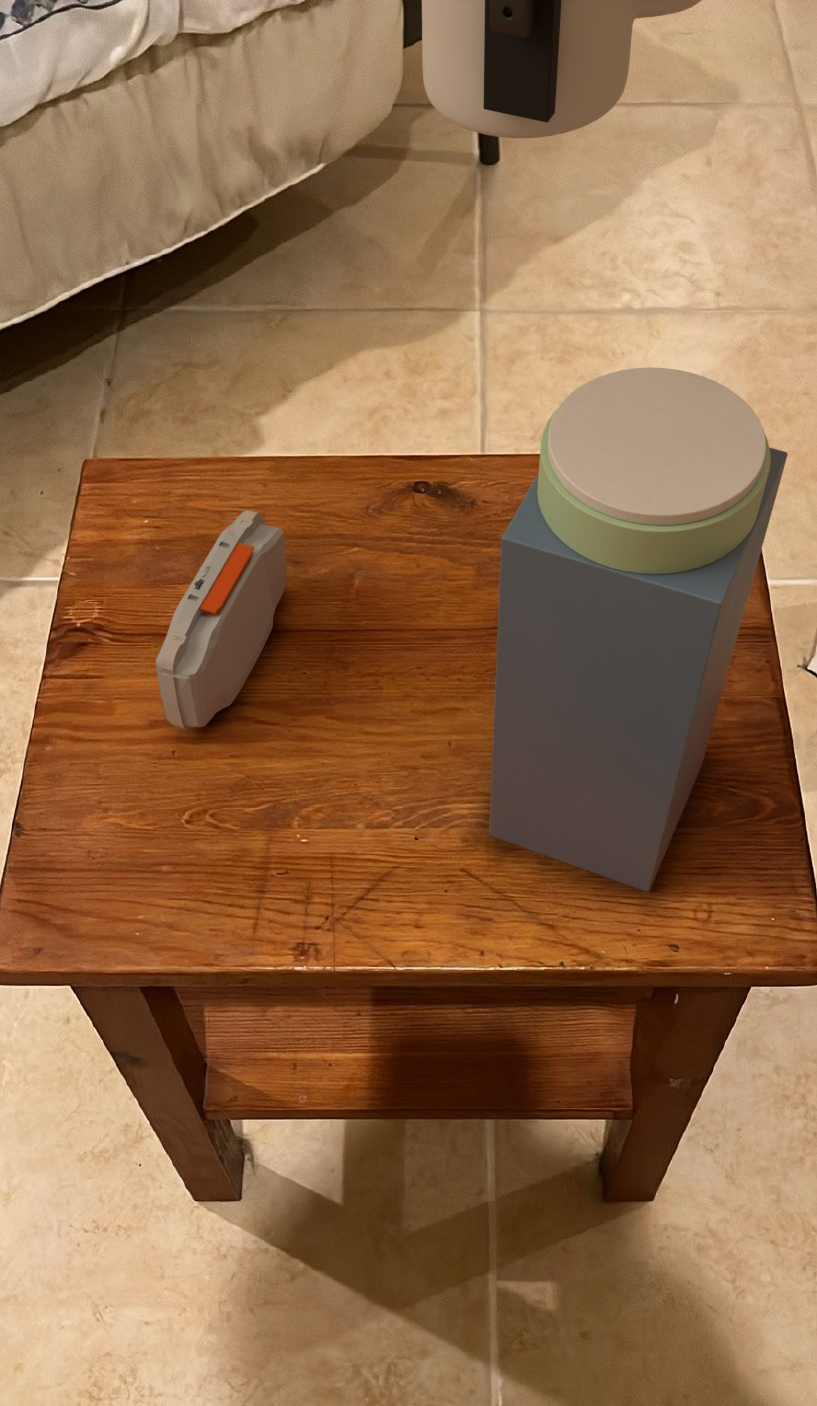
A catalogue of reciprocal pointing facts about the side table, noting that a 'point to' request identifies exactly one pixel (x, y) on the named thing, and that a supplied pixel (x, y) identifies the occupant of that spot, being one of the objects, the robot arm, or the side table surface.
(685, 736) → the stand
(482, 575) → the side table surface
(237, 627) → the grey case
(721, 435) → the round tin
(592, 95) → the mug
